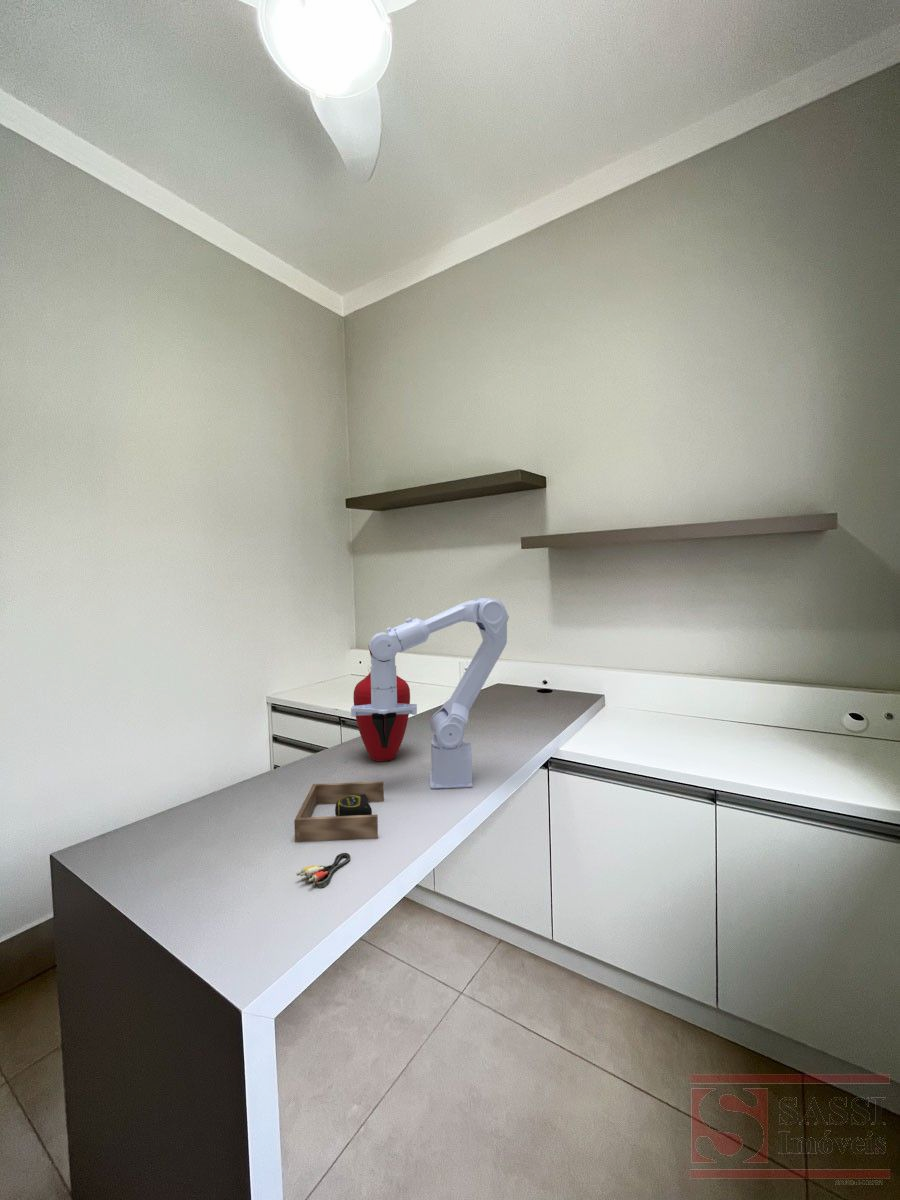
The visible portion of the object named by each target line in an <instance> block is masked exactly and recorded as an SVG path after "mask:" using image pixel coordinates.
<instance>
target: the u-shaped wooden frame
mask: <svg viewBox="0 0 900 1200" xmlns="http://www.w3.org/2000/svg"><path fill="white" fill-rule="evenodd" d="M384 785H385V784H384V781H359V782H357V781H356V782H354V781H353V782H332V783H331V782H329V783H313V784H312V786H311V787H310V789H309V791H308V793H307V795H306V796H305V799H304V801H303V803H302V805H301V807H300V809H299V810H298V812H297V814H296V816H295V818H294V820H293V822H294V824H293V825H294V842H295V843H298V842H322V841H343V840H346V841H347V840H365V839H366V840H368V839H379V838H378V837H379V825H378V823H379V820H378V818H379V815H378V814H372V815H356V816H336V815H334V816H317V817H316V816H315V817H312V815H313V813H314V811H315V809H316V807H317V805H327V804H329V805H330V804H337V801H338V800H339V799H341V798H342V797H345V796H349V795H358V796H359V795H362V794H365V795H366V796H367V798H368V802H369V803H375V802H377V803H380V802H382V803H383V802H384V800H385V793H384V791H385V789H384Z"/></svg>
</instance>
